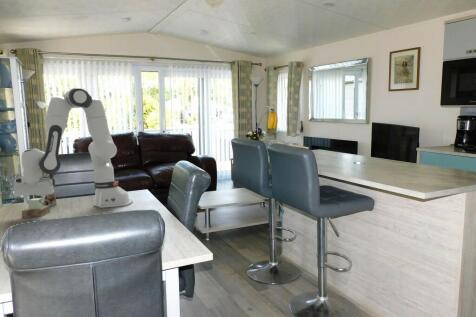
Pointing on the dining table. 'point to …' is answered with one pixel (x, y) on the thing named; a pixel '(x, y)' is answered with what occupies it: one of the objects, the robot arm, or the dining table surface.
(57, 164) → the robot arm
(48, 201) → the coffee box
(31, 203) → the sage cube
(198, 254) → the dining table surface
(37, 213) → the walnut block
